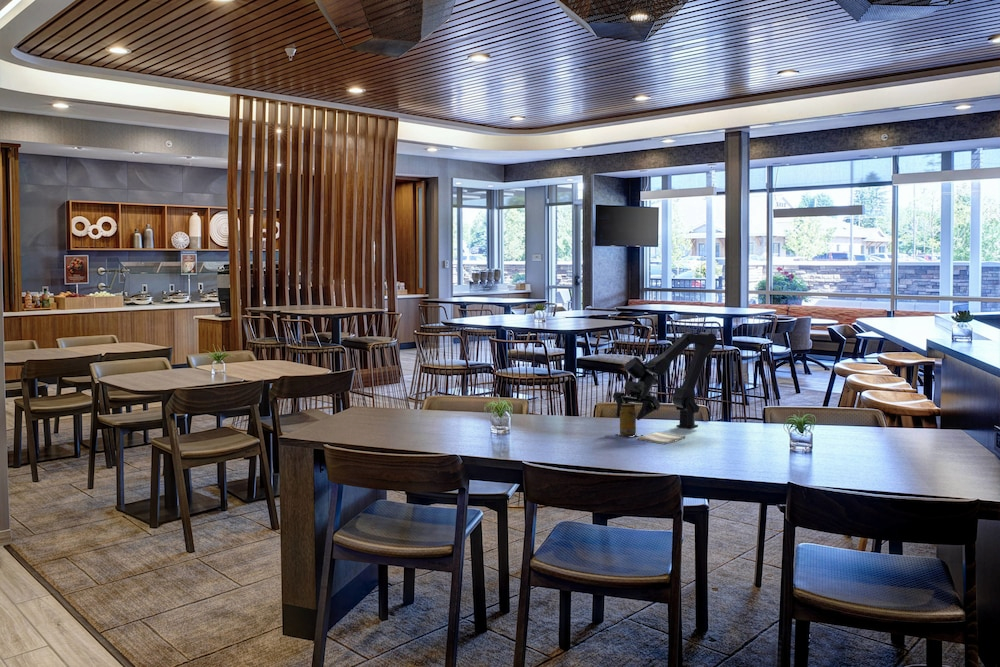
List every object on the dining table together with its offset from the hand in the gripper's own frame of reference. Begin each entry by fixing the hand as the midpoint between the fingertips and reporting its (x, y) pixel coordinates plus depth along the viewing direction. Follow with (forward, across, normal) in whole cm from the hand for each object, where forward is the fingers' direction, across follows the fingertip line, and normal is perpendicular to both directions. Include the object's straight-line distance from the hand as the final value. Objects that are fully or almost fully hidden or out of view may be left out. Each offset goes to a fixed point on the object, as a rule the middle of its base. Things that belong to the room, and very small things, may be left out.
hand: (627, 418), depth 303 cm
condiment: (+4, 0, +6) cm, 7 cm away
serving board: (+2, +13, +7) cm, 15 cm away
